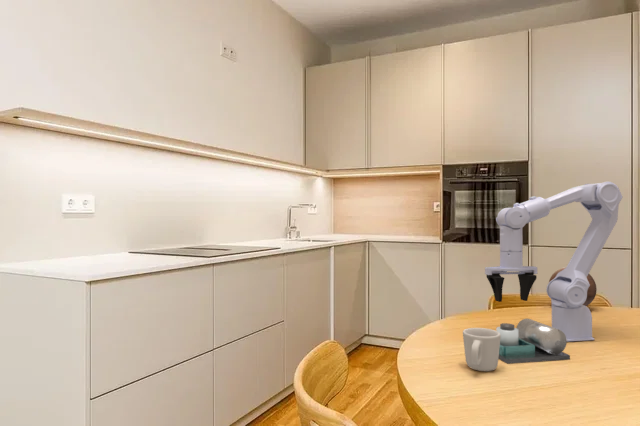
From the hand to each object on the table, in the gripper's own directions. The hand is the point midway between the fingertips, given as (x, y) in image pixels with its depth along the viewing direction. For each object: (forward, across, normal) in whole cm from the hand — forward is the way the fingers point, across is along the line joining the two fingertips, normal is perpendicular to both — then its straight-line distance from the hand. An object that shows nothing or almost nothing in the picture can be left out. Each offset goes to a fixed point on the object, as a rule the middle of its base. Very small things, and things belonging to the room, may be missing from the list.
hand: (511, 300), depth 123 cm
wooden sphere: (+10, -43, -31) cm, 54 cm away
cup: (+11, +21, +21) cm, 31 cm away
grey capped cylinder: (+10, +8, +12) cm, 17 cm away
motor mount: (+10, +5, +12) cm, 17 cm away
